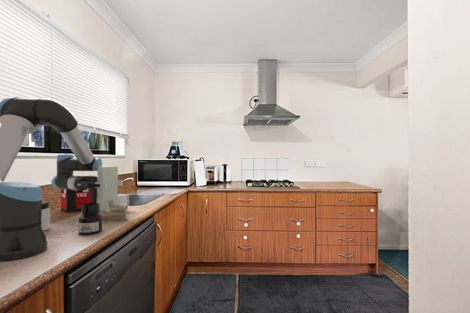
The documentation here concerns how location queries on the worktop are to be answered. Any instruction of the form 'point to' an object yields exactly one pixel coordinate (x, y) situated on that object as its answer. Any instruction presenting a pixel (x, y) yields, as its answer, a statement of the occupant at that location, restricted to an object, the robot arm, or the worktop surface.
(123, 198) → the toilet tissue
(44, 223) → the jar
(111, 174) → the pale green panel
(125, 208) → the slotted rail
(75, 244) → the worktop surface
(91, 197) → the cleaning product box
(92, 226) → the ink bottle
